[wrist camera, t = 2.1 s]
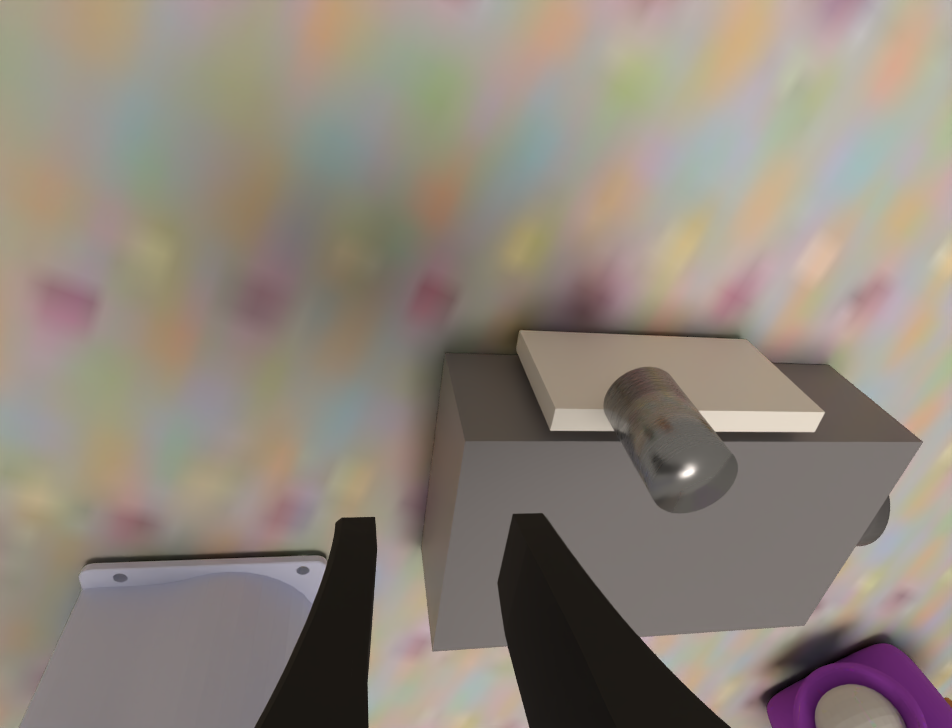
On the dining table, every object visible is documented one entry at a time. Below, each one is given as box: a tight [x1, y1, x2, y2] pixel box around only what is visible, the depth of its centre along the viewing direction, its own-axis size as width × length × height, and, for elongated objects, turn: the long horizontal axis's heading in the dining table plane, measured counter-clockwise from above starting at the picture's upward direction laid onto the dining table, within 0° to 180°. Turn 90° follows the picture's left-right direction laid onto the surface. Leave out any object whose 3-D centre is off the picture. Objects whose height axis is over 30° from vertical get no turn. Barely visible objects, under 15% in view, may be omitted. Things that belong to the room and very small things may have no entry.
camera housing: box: [421, 353, 923, 652], centre depth 24 cm, size 18×10×5 cm, turn 82°
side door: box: [516, 330, 825, 513], centre depth 19 cm, size 9×2×8 cm, turn 82°
